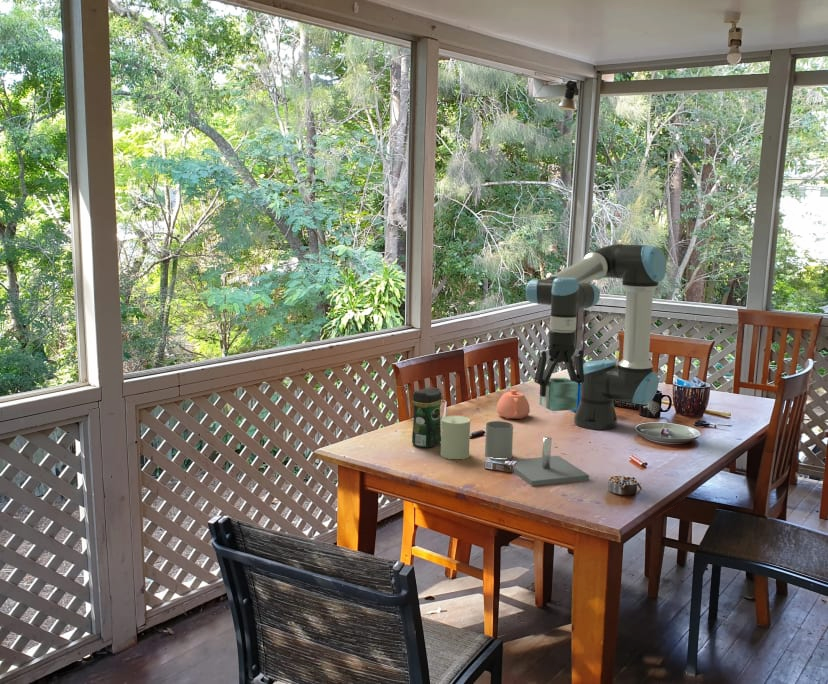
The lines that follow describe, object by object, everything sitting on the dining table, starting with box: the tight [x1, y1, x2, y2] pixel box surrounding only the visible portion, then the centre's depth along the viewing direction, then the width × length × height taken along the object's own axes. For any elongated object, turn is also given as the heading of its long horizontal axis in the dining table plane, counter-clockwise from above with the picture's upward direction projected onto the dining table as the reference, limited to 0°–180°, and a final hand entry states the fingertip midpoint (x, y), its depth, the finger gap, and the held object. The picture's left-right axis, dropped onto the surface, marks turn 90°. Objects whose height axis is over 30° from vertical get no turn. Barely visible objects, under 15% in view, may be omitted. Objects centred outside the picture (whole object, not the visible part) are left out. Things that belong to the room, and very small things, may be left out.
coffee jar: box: [411, 386, 442, 448], centre depth 248 cm, size 10×8×19 cm
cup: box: [484, 420, 514, 460], centre depth 238 cm, size 8×8×10 cm
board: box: [513, 455, 590, 487], centre depth 224 cm, size 18×18×2 cm
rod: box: [541, 436, 552, 469], centre depth 223 cm, size 2×2×9 cm
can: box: [439, 415, 471, 460], centre depth 238 cm, size 9×9×12 cm
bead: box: [539, 377, 579, 412], centre depth 227 cm, size 8×8×8 cm
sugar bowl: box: [495, 389, 531, 420], centre depth 283 cm, size 12×14×10 cm
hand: (557, 406), depth 228 cm, fingers closed on bead, 8 cm apart
